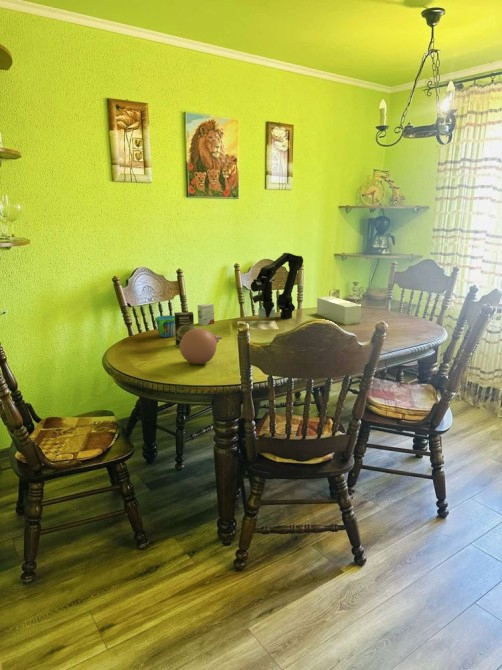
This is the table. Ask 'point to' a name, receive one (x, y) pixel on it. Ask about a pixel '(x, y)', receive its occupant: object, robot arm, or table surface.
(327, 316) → the stack of papers
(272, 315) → the block
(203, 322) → the ink box
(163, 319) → the snack cup
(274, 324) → the maple board
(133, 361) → the table surface
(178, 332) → the coffee box
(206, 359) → the balloon
